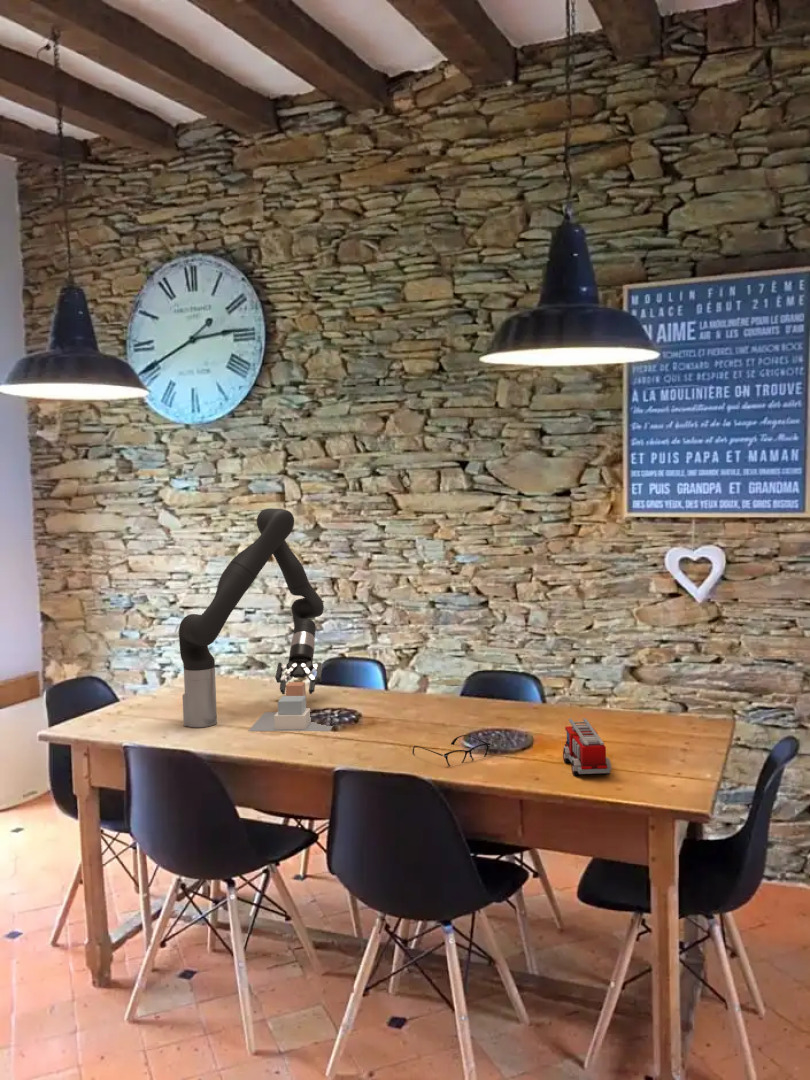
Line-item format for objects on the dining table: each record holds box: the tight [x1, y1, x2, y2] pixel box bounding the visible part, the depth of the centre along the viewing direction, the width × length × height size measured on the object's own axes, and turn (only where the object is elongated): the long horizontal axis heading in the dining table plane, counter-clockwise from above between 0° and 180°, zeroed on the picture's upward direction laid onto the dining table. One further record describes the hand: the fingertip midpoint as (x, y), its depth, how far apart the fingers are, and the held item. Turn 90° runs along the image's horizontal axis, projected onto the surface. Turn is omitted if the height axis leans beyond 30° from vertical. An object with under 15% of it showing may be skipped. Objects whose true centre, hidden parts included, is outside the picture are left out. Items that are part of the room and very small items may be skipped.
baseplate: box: [247, 711, 334, 732], centre depth 279 cm, size 24×22×1 cm
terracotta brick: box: [285, 681, 307, 697], centre depth 285 cm, size 5×5×10 cm
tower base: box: [274, 695, 311, 730], centre depth 274 cm, size 9×9×8 cm
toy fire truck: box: [562, 718, 612, 776], centre depth 230 cm, size 9×19×10 cm, turn 2°
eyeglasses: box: [412, 734, 491, 766], centre depth 244 cm, size 16×16×4 cm
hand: (296, 692), depth 286 cm, fingers open, 8 cm apart
